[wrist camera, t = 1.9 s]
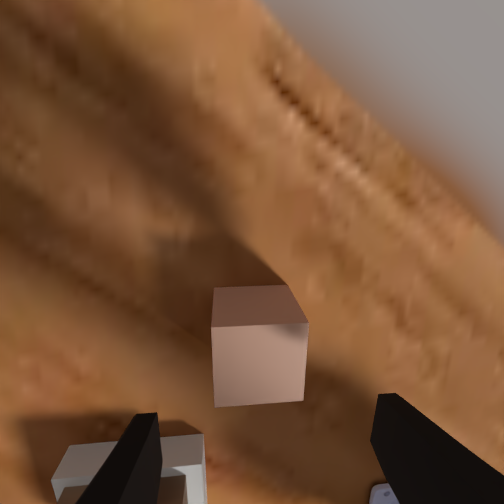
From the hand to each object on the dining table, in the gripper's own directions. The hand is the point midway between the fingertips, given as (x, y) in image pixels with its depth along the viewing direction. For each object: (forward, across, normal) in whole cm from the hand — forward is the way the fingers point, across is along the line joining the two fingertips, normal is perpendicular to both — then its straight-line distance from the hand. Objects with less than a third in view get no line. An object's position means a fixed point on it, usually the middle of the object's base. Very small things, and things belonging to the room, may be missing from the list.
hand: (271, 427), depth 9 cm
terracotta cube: (+7, 0, 0) cm, 7 cm away
